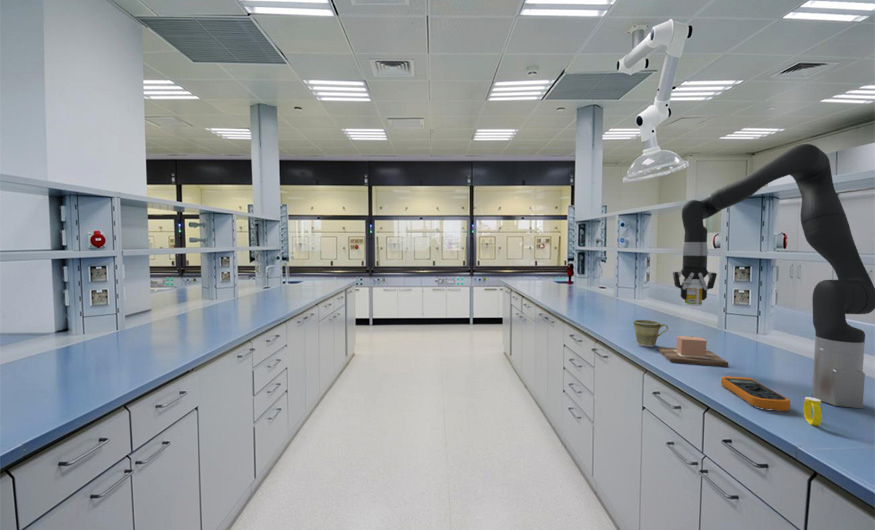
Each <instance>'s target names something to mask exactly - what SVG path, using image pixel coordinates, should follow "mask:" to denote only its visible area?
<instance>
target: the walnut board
mask: <svg viewBox="0 0 875 530" xmlns="http://www.w3.org/2000/svg"><path fill="white" fill-rule="evenodd" d="M657 351H658V353H660V354H661V355H662V356H663V357H664V359H666V360H667V361H668V360H669V361H670V363H675V362H676V363H677V364H688V365H689V364H690V365H700V366H701V365H702V366H712V365H714V367H725V368H726V367H729V362H728V361H726V360H725V359H723V358H722V357H720V356H719V355H717V354H716V353H714V352H713V351H711V350H709V349H708V350H707V349H706V357H700V356H687V355H680V354H679V353H678V352H677V351H676V347H665V346H658V347H657ZM669 361H668V362H669ZM676 363H675V364H676Z"/></svg>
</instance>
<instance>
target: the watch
mask: <svg viewBox="0 0 875 530" xmlns="http://www.w3.org/2000/svg"><path fill="white" fill-rule="evenodd" d="M820 404H822V401H821V400H819V399H816V398H814V397H813V396H805V397H804V402H803V415H804V419H805V421H806V422H808V424H809V425H810V426H815V427H819V426H820V425H821V422H822V418H823V414H822V408H821V407H822V406H821V405H820ZM812 412H813V414H812Z"/></svg>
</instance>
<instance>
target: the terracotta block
mask: <svg viewBox="0 0 875 530" xmlns="http://www.w3.org/2000/svg"><path fill="white" fill-rule="evenodd" d="M675 348H676V351H677V352H678V353H679V354H680V355H687V356H700V357H706V350H707V340H706V339H705V338H703V337H700V336H699V337H698V336H686V335H682V336H681V335H677V336H676V347H675Z"/></svg>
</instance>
